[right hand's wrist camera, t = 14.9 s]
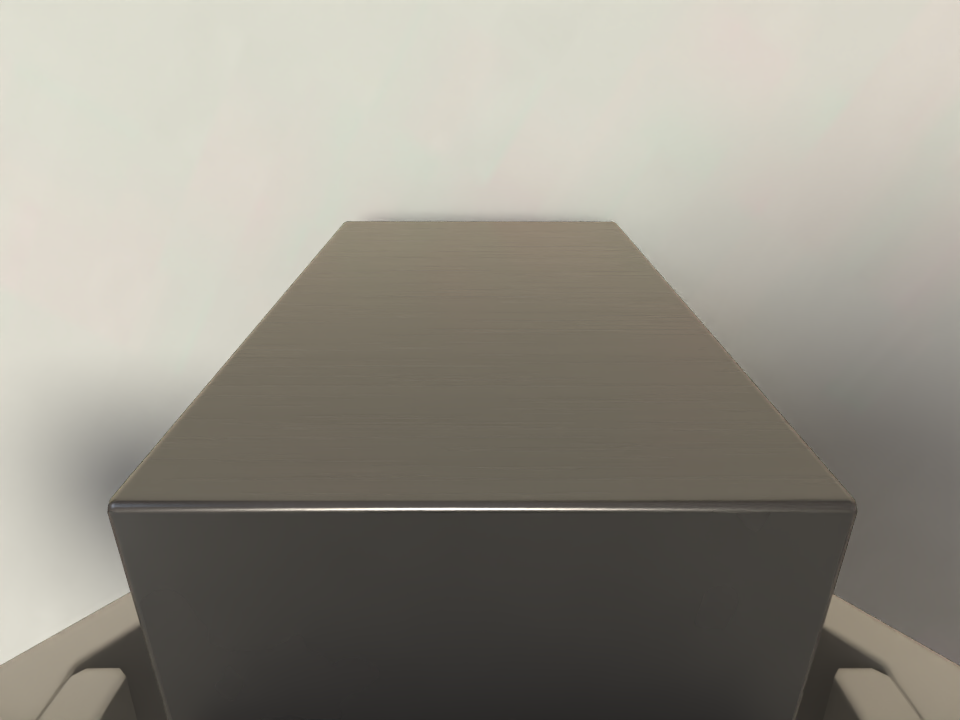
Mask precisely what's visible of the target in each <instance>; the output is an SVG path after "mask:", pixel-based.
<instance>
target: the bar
mask: <svg viewBox="0 0 960 720" xmlns="http://www.w3.org/2000/svg"><path fill="white" fill-rule="evenodd" d="M856 514H857V506H856V502H855V499H854V498H853V497H852V496H851V495H850V494H849V492H848V491H847V490H846V489H845V488H844V487H843V485H842V484H841V483H840V482H839V481H838V480H837V478H836V477H835V476H834V475H833V474H832V473H831V472H830V470H829V469H828V468H827V467H826V466H825V465H824V463H823V462H822V461H821V460H820V459H819V458H818V456H817V455H816V454H815V453H814V452H813V451H812V450H811V448H810V447H809V446H808V445H807V444H806V443H805V441H804V440H803V439H802V438H801V437H800V436H799V434H798V433H797V432H796V431H795V430H794V429H793V428H792V426H791V425H790V424H789V423H788V422H787V421H786V419H785V418H784V417H783V416H782V415H781V414H780V412H779V411H778V410H777V409H776V408H775V407H774V406H773V404H772V403H771V402H770V401H769V400H768V399H767V397H766V396H765V395H764V394H763V393H762V392H761V390H760V389H759V388H758V387H757V386H756V385H755V384H754V382H753V381H752V380H751V379H750V378H749V377H748V375H747V374H746V373H745V372H744V371H743V370H742V368H741V367H740V366H739V365H738V364H737V363H736V362H735V360H734V359H733V358H732V357H731V356H730V355H729V353H728V352H727V351H726V350H725V349H724V348H723V346H722V345H721V344H720V343H719V342H718V341H717V340H716V338H715V337H714V336H713V335H712V334H711V333H710V331H709V330H708V329H707V328H706V327H705V326H704V324H703V323H702V322H701V321H700V320H699V319H698V318H697V316H696V315H695V314H694V313H693V312H692V311H691V309H690V308H689V307H688V306H687V305H686V304H685V302H684V301H683V300H682V299H681V298H680V297H679V296H678V294H677V293H676V292H675V291H674V290H673V289H672V287H671V286H670V285H669V284H668V283H667V282H666V280H665V279H664V278H663V277H662V276H661V275H660V274H659V272H658V271H657V270H656V269H655V268H654V267H653V265H652V264H651V263H650V262H649V261H648V260H647V258H646V257H645V256H644V255H643V254H642V253H641V252H640V250H639V249H638V248H637V247H636V246H635V245H634V243H633V242H632V241H631V240H630V239H629V238H628V236H627V235H626V234H625V233H624V232H623V231H622V230H621V228H620V227H619V226H618V225H617V224H616V223H615V222H387V221H347V222H345V223H343V225H342V226H341V227H340V228H339V229H338V231H337V232H336V233H335V234H334V235H333V236H332V238H331V239H330V240H329V241H328V242H327V244H326V245H325V246H324V247H323V248H322V249H321V251H320V252H319V253H318V254H317V255H316V257H315V258H314V259H313V260H312V261H311V262H310V264H309V265H308V266H307V267H306V268H305V270H304V271H303V272H302V273H301V274H300V275H299V277H298V278H297V279H296V280H295V281H294V283H293V284H292V285H291V286H290V287H289V288H288V290H287V291H286V292H285V293H284V294H283V296H282V297H281V298H280V299H279V300H278V301H277V303H276V304H275V305H274V306H273V307H272V309H271V310H270V311H269V312H268V313H267V315H266V316H265V317H264V318H263V319H262V320H261V322H260V323H259V324H258V325H257V326H256V328H255V329H254V330H253V331H252V332H251V333H250V335H249V336H248V337H247V338H246V339H245V341H244V342H243V343H242V344H241V345H240V346H239V348H238V349H237V350H236V351H235V352H234V354H233V355H232V356H231V357H230V358H229V359H228V361H227V362H226V363H225V364H224V365H223V367H222V368H221V369H220V370H219V371H218V372H217V374H216V375H215V376H214V377H213V378H212V380H211V381H210V382H209V383H208V384H207V385H206V387H205V388H204V389H203V390H202V391H201V393H200V394H199V395H198V396H197V397H196V398H195V400H194V401H193V402H192V403H191V404H190V406H189V407H188V408H187V409H186V410H185V411H184V413H183V414H182V415H181V416H180V417H179V419H178V420H177V421H176V422H175V423H174V424H173V426H172V427H171V428H170V429H169V430H168V432H167V433H166V434H165V435H164V436H163V437H162V439H161V440H160V441H159V442H158V443H157V445H156V446H155V447H154V448H153V449H152V450H151V452H150V453H149V454H148V455H147V456H146V458H145V459H144V460H143V461H142V462H141V463H140V465H139V466H138V467H137V468H136V469H135V471H134V472H133V473H132V474H131V475H130V476H129V478H128V479H127V480H126V481H125V482H124V484H123V485H122V486H121V487H120V488H119V489H118V491H117V492H116V493H115V494H114V495H113V497H112V498H111V499H110V501H109V504H108V516H109V519H110V523H111V526H112V529H113V533H114V536H115V540H116V543H117V547H118V550H119V554H120V557H121V561H122V564H123V567H124V571H125V574H126V578H127V581H128V585H129V588H130V592H131V595H132V598H133V602H134V605H135V609H136V612H137V616H138V619H139V623H140V626H141V630H142V633H143V636H144V640H145V643H146V647H147V650H148V654H149V657H150V661H151V664H152V667H153V671H154V674H155V678H156V681H157V685H158V688H159V692H160V695H161V699H162V702H163V705H164V709H165V712H166V716H167V719H168V720H796V716H797V713H798V709H799V706H800V703H801V699H802V696H803V693H804V689H805V686H806V683H807V679H808V676H809V672H810V669H811V666H812V662H813V659H814V656H815V652H816V649H817V646H818V642H819V639H820V635H821V632H822V629H823V625H824V622H825V619H826V615H827V612H828V609H829V605H830V602H831V598H832V595H833V592H834V588H835V585H836V582H837V578H838V575H839V572H840V568H841V565H842V561H843V558H844V555H845V551H846V548H847V545H848V541H849V538H850V535H851V531H852V528H853V524H854V521H855V518H856Z"/></svg>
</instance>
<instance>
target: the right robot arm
mask: <svg viewBox="0 0 960 720" xmlns="http://www.w3.org/2000/svg"><path fill="white" fill-rule="evenodd" d="M0 720H168V719H167V716H166V712H165V709H164V705H163V702H162V699H161V695H160V692H159V688H158V685H157V681H156V678H155V674H154V671H153V667H152V664H151V661H150V657H149V654H148V650H147V647H146V643H145V640H144V636H143V633H142V630H141V626H140V623H139V619H138V616H137V612H136V609H135V605H134V602H133V598H132V595H131V592H129V593H128V594H126V595H124V596H122V597H120V598H119V599H117V600H115V601H113V602H112V603H110V604H108V605H106V606H105V607H103V608H101V609H99V610H97V611H96V612H94V613H92V614H90V615H89V616H87V617H85V618H83V619H82V620H80V621H78V622H76V623H74V624H73V625H71V626H69V627H67V628H66V629H64V630H62V631H60V632H59V633H57V634H55V635H53V636H51V637H50V638H48V639H46V640H44V641H43V642H41V643H39V644H37V645H36V646H34V647H32V648H30V649H29V650H27V651H25V652H23V653H21V654H20V655H18V656H16V657H14V658H13V659H11V660H9V661H7V662H6V663H4V664H2V665H0ZM796 720H960V666H959V665H957V664H956V663H954V662H952V661H950V660H949V659H947V658H945V657H943V656H941V655H940V654H938V653H936V652H934V651H933V650H931V649H929V648H927V647H926V646H924V645H922V644H920V643H919V642H917V641H915V640H913V639H912V638H910V637H908V636H906V635H904V634H903V633H901V632H899V631H897V630H896V629H894V628H892V627H890V626H889V625H887V624H885V623H883V622H882V621H880V620H878V619H876V618H875V617H873V616H871V615H869V614H867V613H866V612H864V611H862V610H860V609H859V608H857V607H855V606H853V605H852V604H850V603H848V602H846V601H845V600H843V599H841V598H839V597H838V596H836V595H834V594H833V595H832V598H831V602H830V605H829V609H828V612H827V615H826V619H825V622H824V625H823V629H822V632H821V635H820V639H819V642H818V646H817V649H816V652H815V656H814V659H813V662H812V666H811V669H810V672H809V676H808V679H807V683H806V686H805V689H804V693H803V696H802V699H801V703H800V706H799V709H798V713H797V716H796Z"/></svg>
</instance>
